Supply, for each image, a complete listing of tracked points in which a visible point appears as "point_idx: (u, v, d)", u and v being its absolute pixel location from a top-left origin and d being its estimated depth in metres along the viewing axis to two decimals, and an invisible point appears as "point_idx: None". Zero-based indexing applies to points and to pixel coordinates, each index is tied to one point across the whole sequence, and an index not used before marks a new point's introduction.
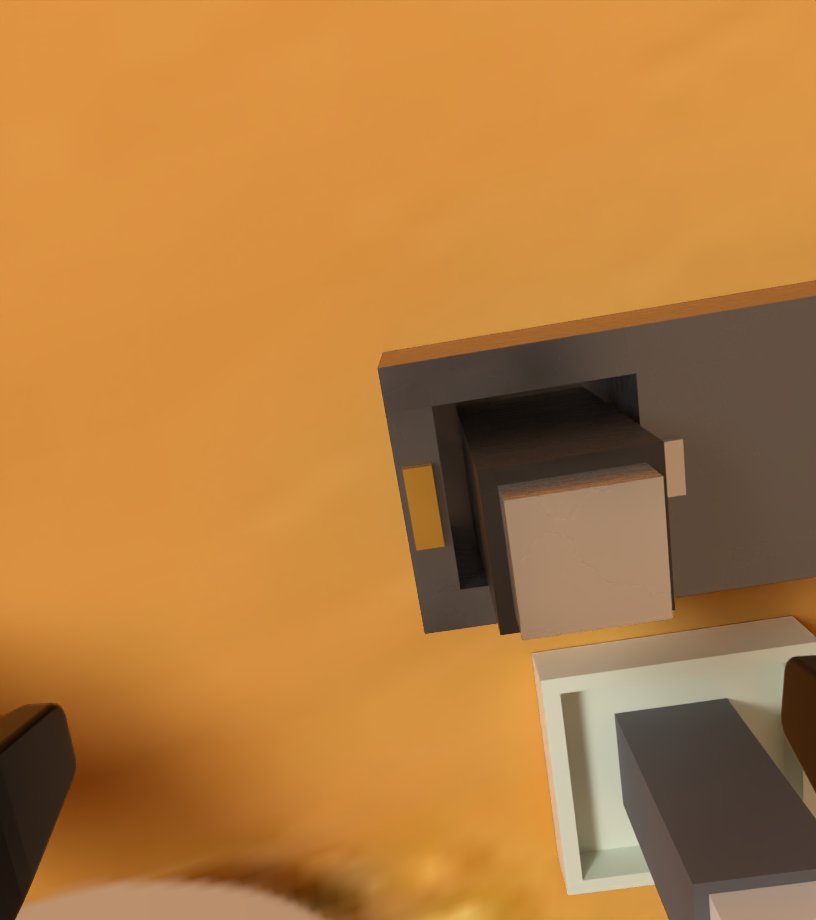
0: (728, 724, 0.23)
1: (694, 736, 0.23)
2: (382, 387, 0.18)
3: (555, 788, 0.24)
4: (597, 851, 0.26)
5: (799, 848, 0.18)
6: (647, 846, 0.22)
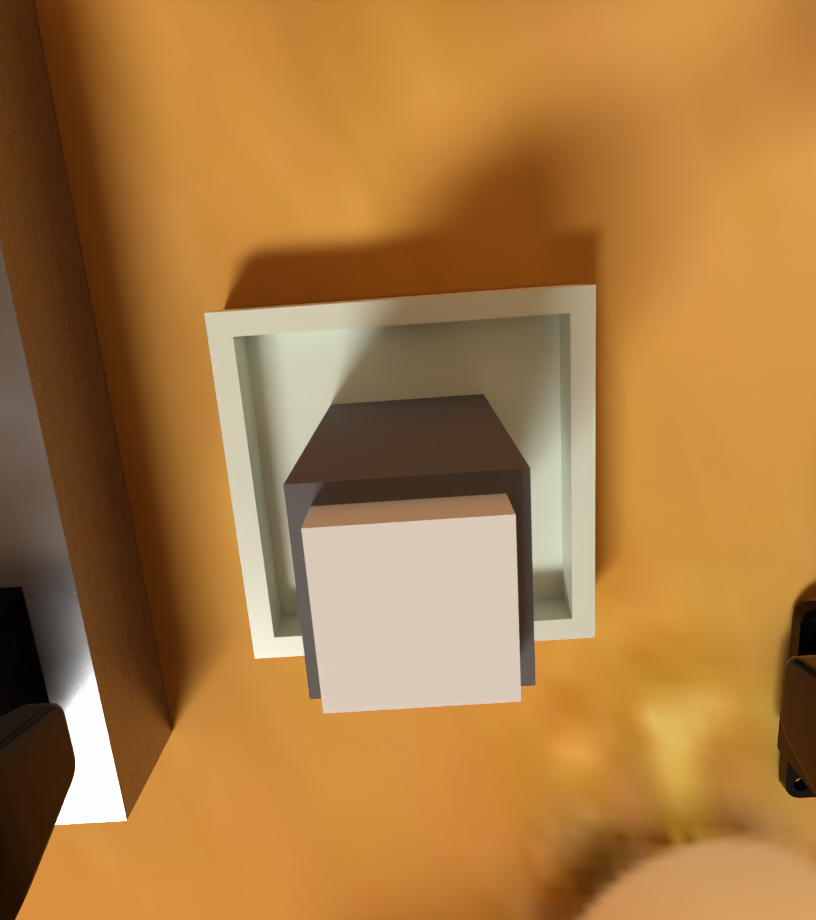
0: None
1: None
2: None
3: None
4: (563, 569, 0.19)
5: None
6: None
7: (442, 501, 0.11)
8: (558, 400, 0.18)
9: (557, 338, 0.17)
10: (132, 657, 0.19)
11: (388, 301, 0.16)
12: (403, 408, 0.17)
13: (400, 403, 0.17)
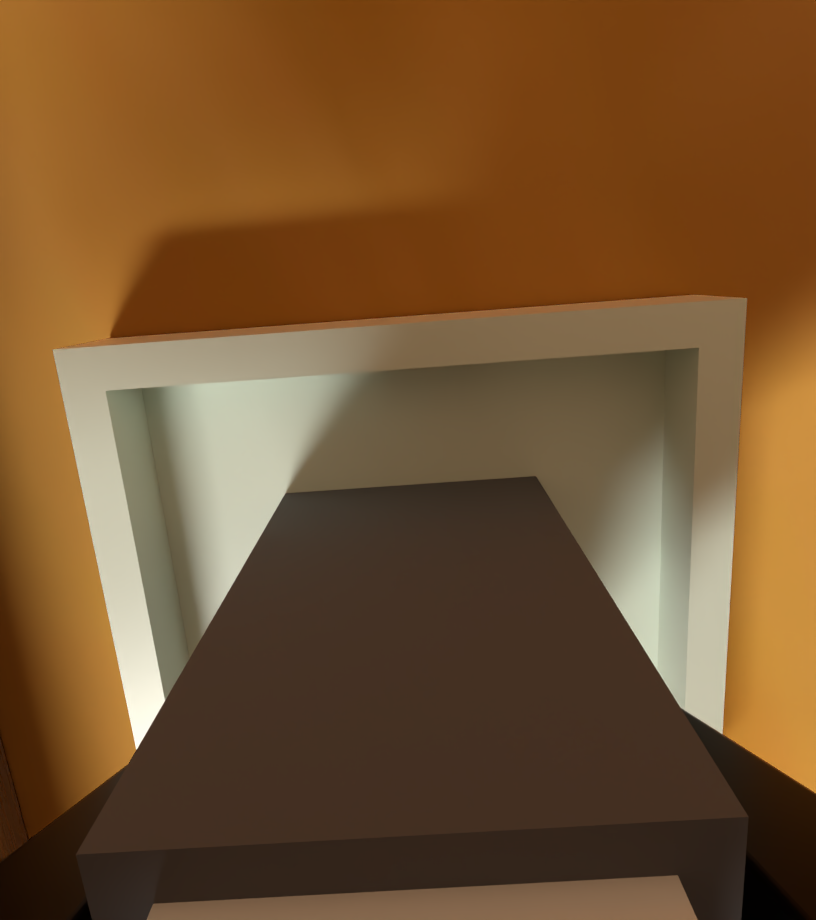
0: None
1: None
2: None
3: None
4: None
5: None
6: None
7: (509, 914, 0.04)
8: (659, 486, 0.11)
9: (661, 386, 0.10)
10: None
11: (376, 328, 0.09)
12: (404, 510, 0.10)
13: (399, 495, 0.10)
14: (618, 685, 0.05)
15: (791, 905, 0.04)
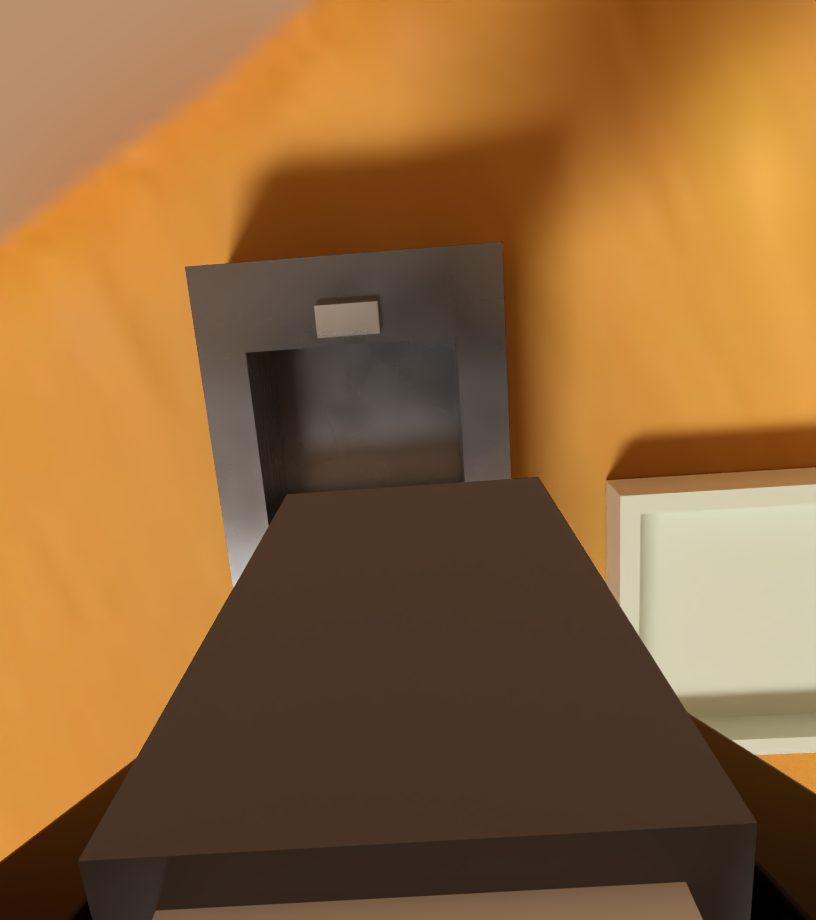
0: None
1: None
2: None
3: (754, 754, 0.22)
4: None
5: None
6: None
7: None
8: None
9: None
10: None
11: (770, 488, 0.20)
12: (406, 512, 0.10)
13: (401, 496, 0.10)
14: (624, 689, 0.05)
15: (791, 905, 0.04)
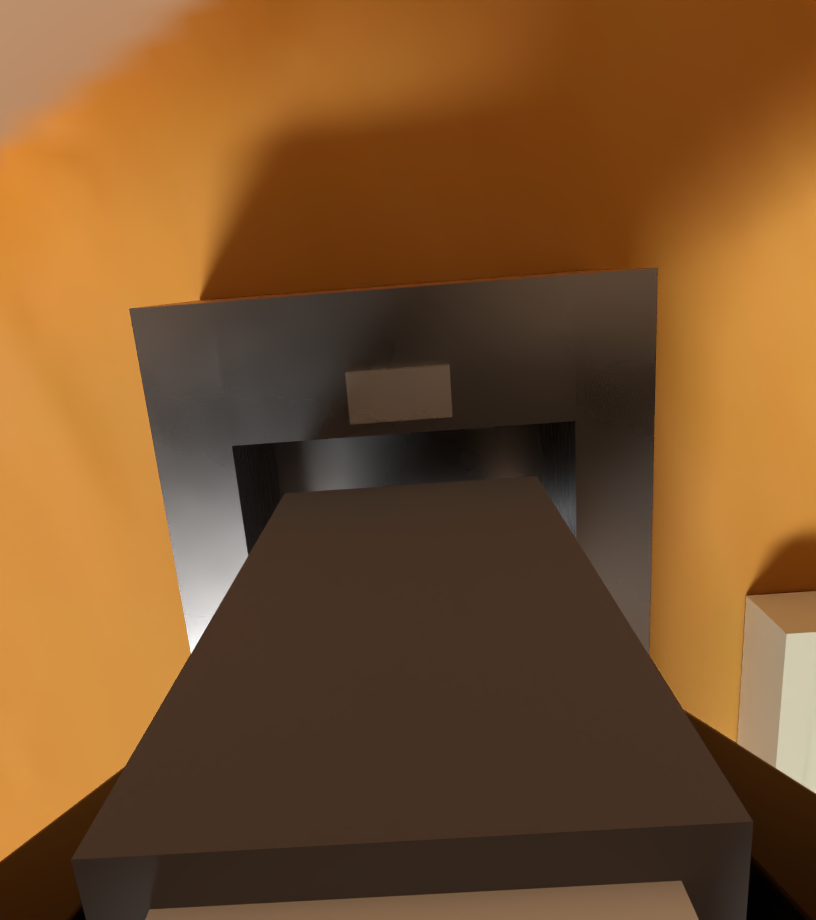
0: None
1: None
2: None
3: None
4: None
5: None
6: None
7: None
8: None
9: None
10: None
11: None
12: (404, 510, 0.10)
13: (399, 495, 0.10)
14: (620, 687, 0.05)
15: (791, 905, 0.04)
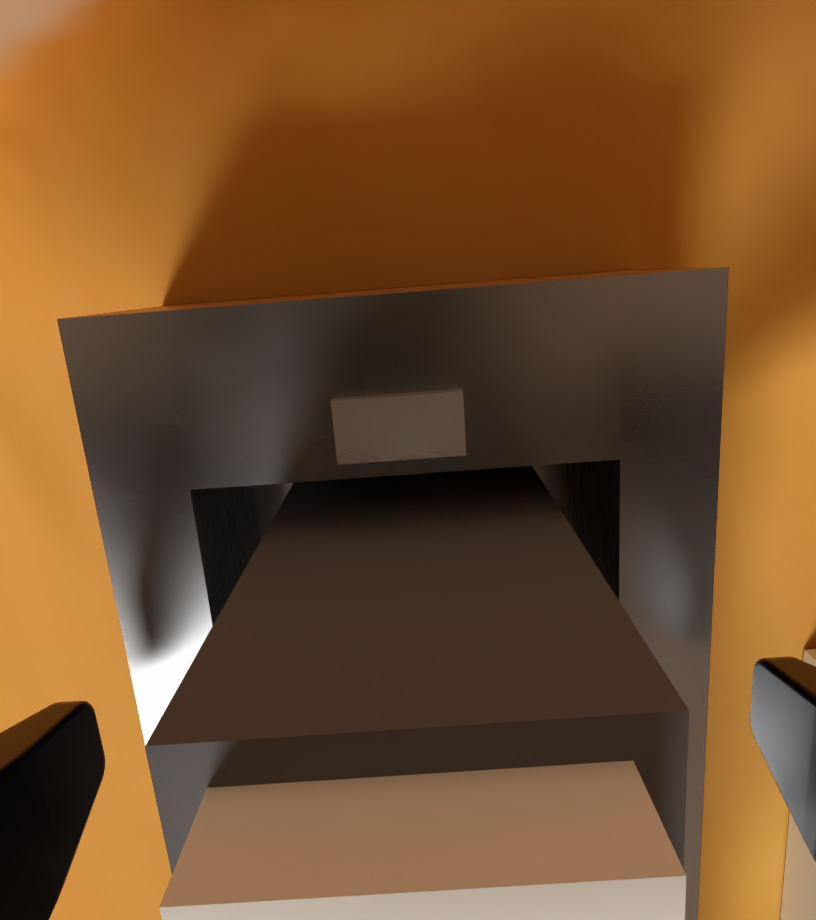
0: None
1: None
2: None
3: None
4: None
5: None
6: None
7: (497, 790, 0.05)
8: None
9: None
10: None
11: None
12: (407, 489, 0.11)
13: (402, 476, 0.11)
14: (591, 621, 0.06)
15: None
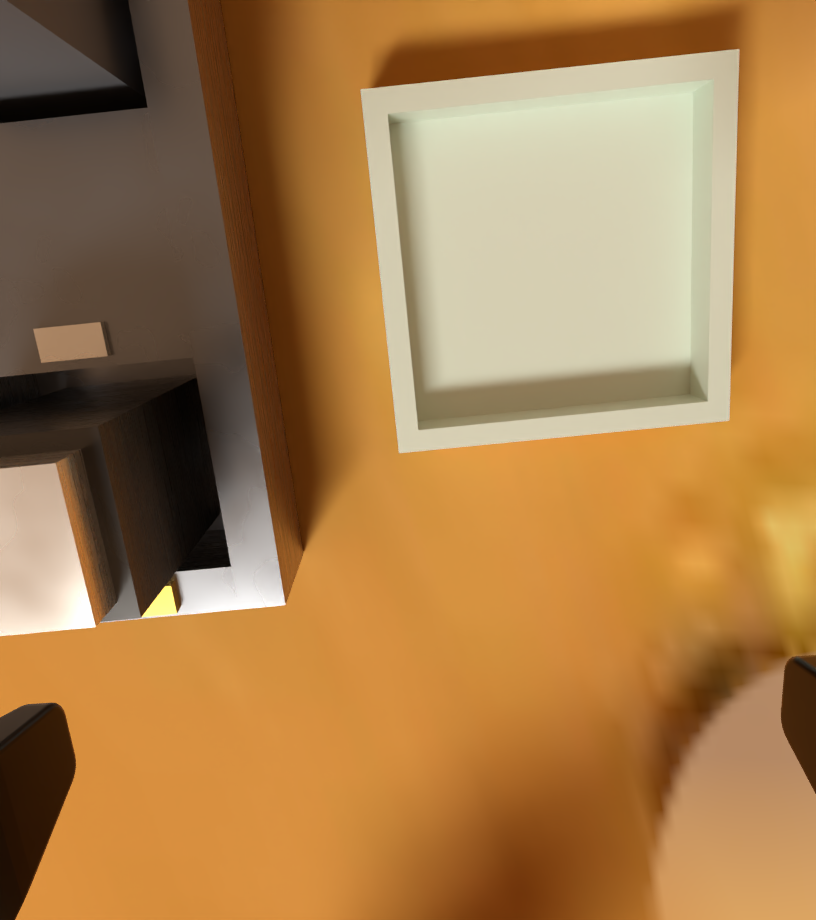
0: None
1: None
2: None
3: (555, 436, 0.19)
4: (692, 364, 0.20)
5: None
6: (68, 79, 0.15)
7: None
8: (690, 186, 0.18)
9: (690, 121, 0.18)
10: (278, 458, 0.19)
11: (539, 71, 0.16)
12: None
13: None
14: None
15: None
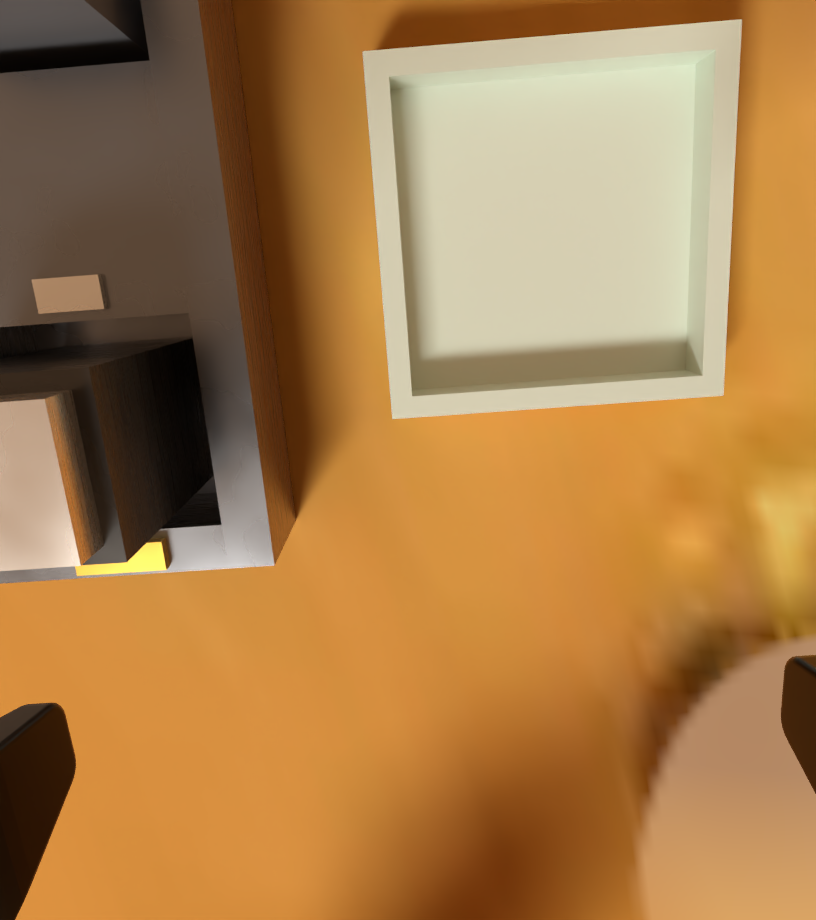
0: None
1: None
2: (2, 581, 0.18)
3: (548, 406, 0.19)
4: (688, 339, 0.20)
5: None
6: (71, 30, 0.15)
7: None
8: (690, 159, 0.18)
9: (692, 94, 0.18)
10: (272, 420, 0.19)
11: (540, 37, 0.16)
12: None
13: None
14: None
15: None
